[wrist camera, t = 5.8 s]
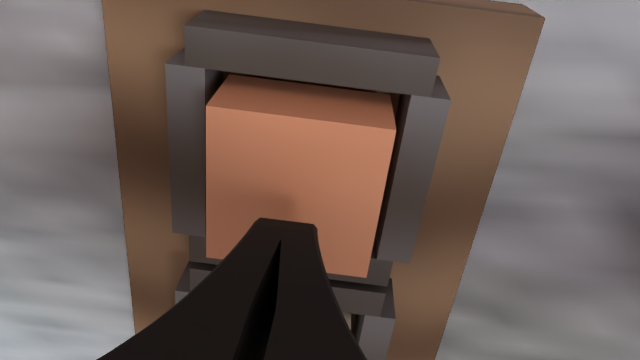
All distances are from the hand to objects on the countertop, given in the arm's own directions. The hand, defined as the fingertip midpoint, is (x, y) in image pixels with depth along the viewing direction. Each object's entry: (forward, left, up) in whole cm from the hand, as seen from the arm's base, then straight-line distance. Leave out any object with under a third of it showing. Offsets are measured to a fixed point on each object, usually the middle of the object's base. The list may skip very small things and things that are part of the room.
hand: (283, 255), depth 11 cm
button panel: (-2, +7, -7) cm, 10 cm away
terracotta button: (0, -1, -4) cm, 4 cm away
